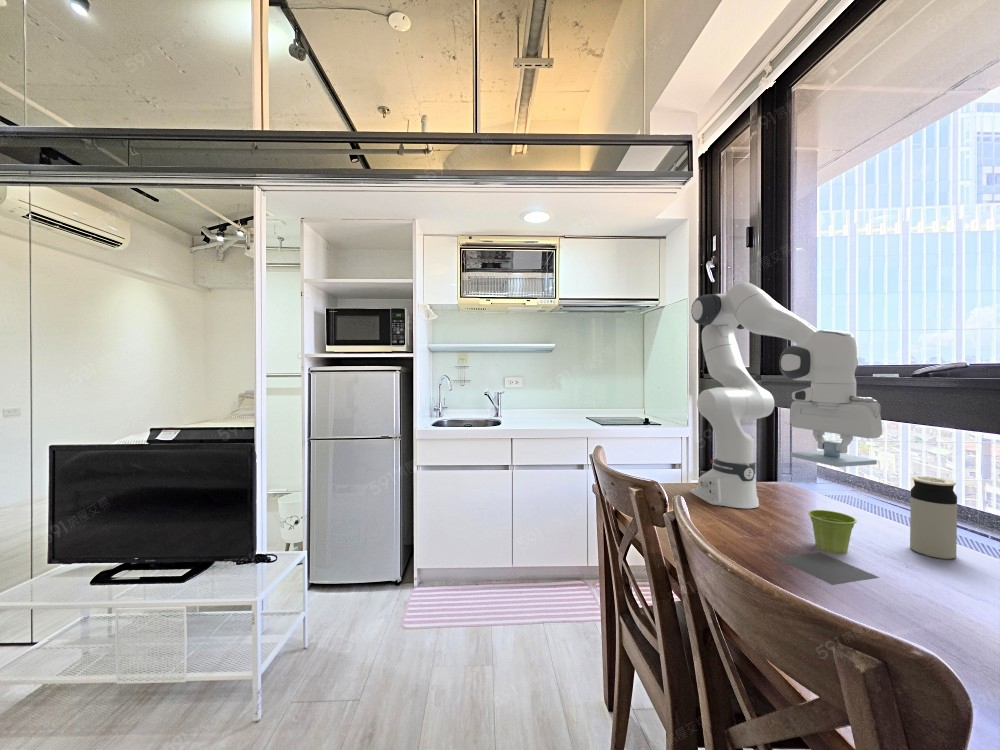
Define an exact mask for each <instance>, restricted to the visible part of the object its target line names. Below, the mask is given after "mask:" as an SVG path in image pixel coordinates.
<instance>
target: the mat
mask: <svg viewBox="0 0 1000 750" xmlns="http://www.w3.org/2000/svg"><path fill="white" fill-rule="evenodd" d="M777 560H781V561H782V562H784V563H786V564H788V565H791V566H792V567H794V568H796V569H798V570H800V571H803V572H805V573H807V574H809V575H811V576H813V577H815V578H817V579H818V580H821V581H822V582H826V583H828V584H830V585H832V586H835V585H839V584H840V585H841V584H847V583H854V582H860V581H864V580H872V579H878V578H880V576H878V575H875V574H872V573H870V572H868V571H866V570H863V569H861V568H858V567H856V566H854V565H851V564H849V563H847V562H844V561H842V560H839V559H837V558H835V557H832V556H830V555H827V554H825V553H823V552H820V551H817V552H809V553H802V554H801V553H800V554H796V555H795V554H794V555H788V556H786V555H785V556H780V557H779V556H778V557H777Z"/></svg>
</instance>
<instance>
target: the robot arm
mask: <svg viewBox="0 0 1000 750" xmlns="http://www.w3.org/2000/svg"><path fill="white" fill-rule="evenodd" d="M690 312H691V317H692V320H693V321H694V322H695V323H697V324H698V325H700V326H701V325H703V326H704V328H702V331H701V344H702V345H701V346H702V351H703V356H704V361H705V362H706V368H707V371H708V374H709V375H710V377H711V378H712V379H714V380H715V381H717V382H719V383H720V384H721V385H722V386H723V387H721V386H720V387H719V386H718V387H712V388H709V389H704V390H702V391H701V392H700V393H699V395H698V397H697V401H696V405H697V409H698V411H699V413H700V415H701V416H702V417H704V418H705V419H706V420H707V421H708V422H709V423H710V425H711V427H712V429H713V432H714V435H715V442H716V443H715V445H716V458H715V459H710V463H711V464H713V466H712V468H711V469H710V470H708V471H706V472H705V473H703V474H702V475H700V476H699V478H698V480H697V487H695V488H692V489H690V494H692V495H694V496H696V497H698V498H700V499H701V500H703V501H705V502H706V503H707V504H710V505H712V506H713V505H714V506H722V507H723V506H724V507H728V508H736V509H755V508H758V507H759V506H760V503H759V502H760V501H759V497H758V493H757V483H756V477H755V474H756V468H757V467H756V462H755V440H754V439H753V437H752V436H751V434H749V433H747V432H746V431H744V429H743V428H742V425H741V421H744V420H747V421H748V420H757V419H758V420H759V419H763V418H766V417H769V416H770V415H771V414H772V413H773V412H774V410H775V398H774V396H773V394H772V393H771V392H770V391H768V390H767V389H766V388H764V387H762V386H761V385H759V384H758V382H756V381H755V380H754V378H753V377H752V375H751V374H750V373H749V372H748V370H747V369H746V366H745V364H744V361H743V357H742V355H741V351H740V348H739V345H738V342H737V340H736V334H735V333H736V330H737V329H738V330H743V329H746V330H747V331H749V332H751V333H752V334H756V335H761V336H767V337H776V338H781V339H784V340H788V341H791V342H793V343H795V344H794V345H790V346H787V347H786V348H785V349H784V350H783V351H782V352H781V354H780V355H779V356H780V357H779V361H778V366H779V370H780V372H781V374H782V375H783V376H784V377H785V378H786V379H788V380H792V381H793V380H794V381H802V382H803V381H806V382H807V381H808V382H811V383H810V387H806V388H803V389H800V390H795V391H793V392H792V393H791V400H793V402H792V403H791V405H790V410H789V411H790V412H789V423H790V425H791V426H792V427H793V428H797V429H803V430H808V431H810V430H811V431H812V436H813V437H814V439H815V441H816V445H817V446H816V447H817V449H818V450H822V451H824V441H826V439H825V438H824V436H825V433H829V434H835V435H839V437H840V438H839V439H841V442H840V445H836V452H838V453H842V454H847V453H848V446H849V445H850V444H851V443H852V441H853V440H854V437H856V438H864V439H878V438H880V437H881V436H882V435H883V423H882V417H881V404H880V402H878V400H876V399H874V398H873V397H864V396H862V397H861V396H857V380H856V376H855V373H856V372H857V368H858V367H859V361H858V349H857V348H858V347H857V342H856V339H855V338H856V337H855V336H854V334H853V333H851V332H849V331H846V330H839V329H837V330H836V329H835V330H834V329H820V330H819V329H818V328H816V327H815V326H814V325H812V324H810V323H809V322H808V321H807V320H805V319H803V318H802V317H800V316H798V315H796V314H795V313H793V312H792V311H790V310H788V309H787V308H785V307H784V306H782V305H781V304H780V303H778V302H777V301H776V300H774V299H773V298H772V297H771V296H770V295H769V294H768V293H766V291H764V290H763V289H761V288H760V287H758V286H757V285H755V284H753V283H751V282H747V281H744V282H739V283H736V284H734V285H733V286H731V288H729V289H728V291H727V292H724V293H713V294H710V293H709V294H708V293H707V294H704V295H703V294H702V295H700V296H698V297H697V298H695V300H694V301H693V303H692V305H691V311H690Z"/></svg>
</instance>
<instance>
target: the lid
mask: <svg viewBox="0 0 1000 750" xmlns="http://www.w3.org/2000/svg"><path fill="white" fill-rule="evenodd" d="M840 443H841V442H839V441H833V440H825V441H824V450H812V451H810V450H809V451H796V452H795V451H794V452H790V454H789V455H790V456H789V457H791V458H795V459H801V460H804V461H809V462H814V463H817V464H822V465H827V466H831V467H832V466H833V467H837V468H844V467H845V468H846V467H857V466H858V467H860V466H871V465H874V466H875V465H878V464H877V463H878V462H877V461H878V460H877V459H873V458H867V457H863V456H857V455H851V454H847V453H838V452H836V445H840Z"/></svg>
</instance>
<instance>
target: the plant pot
mask: <svg viewBox="0 0 1000 750" xmlns="http://www.w3.org/2000/svg"><path fill="white" fill-rule="evenodd" d="M808 516H810V517H809V518H810V520H811V523H812V531H813V535H814V536H813V537H814V543H815V546H816V548H817V549H820V551H821V550H822V551H824V552H828V553H832V554H840V555H843V554H847V553H848V550H849V545H850V541H851V536H852V531H853V528H854V526H855V524H856V523H857V521H858V519H856V518H855V517H853V516H852V515H850V514H846V513H842V512H839V511H833V510H825V509H811V510H809V511H808Z"/></svg>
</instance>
